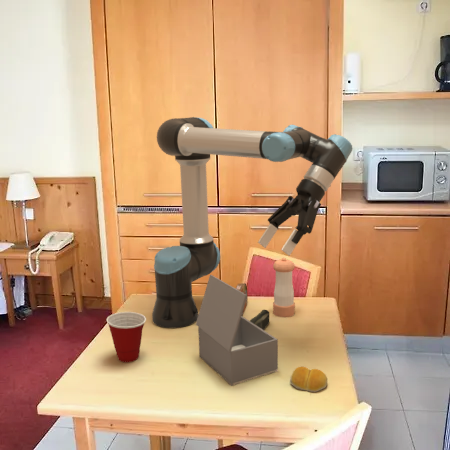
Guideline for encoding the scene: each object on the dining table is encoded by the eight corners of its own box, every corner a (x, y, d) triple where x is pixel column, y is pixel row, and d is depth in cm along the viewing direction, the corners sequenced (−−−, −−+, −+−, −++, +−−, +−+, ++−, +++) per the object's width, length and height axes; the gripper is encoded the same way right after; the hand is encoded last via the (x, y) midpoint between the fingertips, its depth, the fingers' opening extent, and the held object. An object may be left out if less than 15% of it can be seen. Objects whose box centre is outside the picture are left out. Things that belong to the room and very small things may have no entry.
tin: (241, 319, 169) (240, 295, 167) (231, 318, 169) (231, 294, 168) (248, 302, 183) (248, 279, 181) (239, 302, 184) (239, 279, 182)
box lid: (197, 324, 142) (195, 324, 142) (212, 275, 141) (210, 274, 141) (231, 351, 126) (228, 351, 126) (247, 295, 126) (245, 295, 125)
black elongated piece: (262, 307, 166) (244, 324, 152) (270, 309, 165) (253, 326, 151) (262, 322, 167) (244, 340, 153) (270, 323, 166) (253, 341, 152)
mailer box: (199, 356, 144) (198, 326, 142) (242, 344, 151) (241, 316, 149) (231, 385, 129) (230, 352, 127) (277, 371, 135) (277, 339, 133)
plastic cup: (149, 364, 140) (146, 323, 138) (108, 369, 139) (105, 327, 136) (148, 347, 151) (145, 308, 148) (110, 350, 149) (107, 311, 146)
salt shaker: (269, 314, 172) (268, 259, 168) (279, 307, 178) (279, 253, 174) (288, 318, 168) (288, 262, 164) (298, 311, 174) (299, 256, 169)
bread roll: (324, 395, 124) (324, 380, 123) (287, 389, 127) (287, 374, 126) (330, 378, 131) (330, 364, 130) (295, 373, 134) (295, 359, 133)
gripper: (350, 195, 133) (306, 264, 130) (300, 191, 156) (262, 249, 153) (331, 178, 130) (286, 248, 127) (282, 176, 153) (243, 235, 150)
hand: (272, 248), depth 140 cm, fingers open, 13 cm apart
